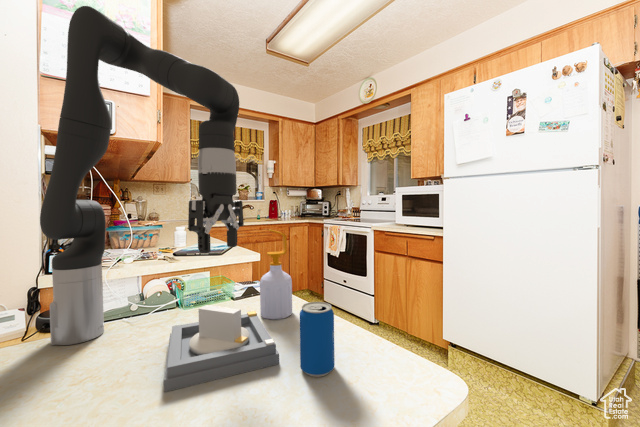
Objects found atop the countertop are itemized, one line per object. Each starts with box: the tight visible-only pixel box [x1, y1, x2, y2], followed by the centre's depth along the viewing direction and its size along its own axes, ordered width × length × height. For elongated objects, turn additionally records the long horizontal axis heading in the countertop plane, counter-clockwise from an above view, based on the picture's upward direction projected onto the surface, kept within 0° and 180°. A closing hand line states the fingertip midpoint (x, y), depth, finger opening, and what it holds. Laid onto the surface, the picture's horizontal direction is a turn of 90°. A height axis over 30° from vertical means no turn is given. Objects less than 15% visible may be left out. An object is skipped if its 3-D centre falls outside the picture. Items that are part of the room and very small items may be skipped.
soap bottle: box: [259, 228, 293, 320], centre depth 83 cm, size 9×9×25 cm
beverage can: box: [299, 301, 335, 378], centre depth 55 cm, size 6×6×12 cm
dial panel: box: [163, 310, 280, 393], centre depth 62 cm, size 20×20×4 cm
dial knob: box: [189, 304, 249, 355], centre depth 62 cm, size 12×12×7 cm
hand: (219, 249), depth 61 cm, fingers open, 8 cm apart
